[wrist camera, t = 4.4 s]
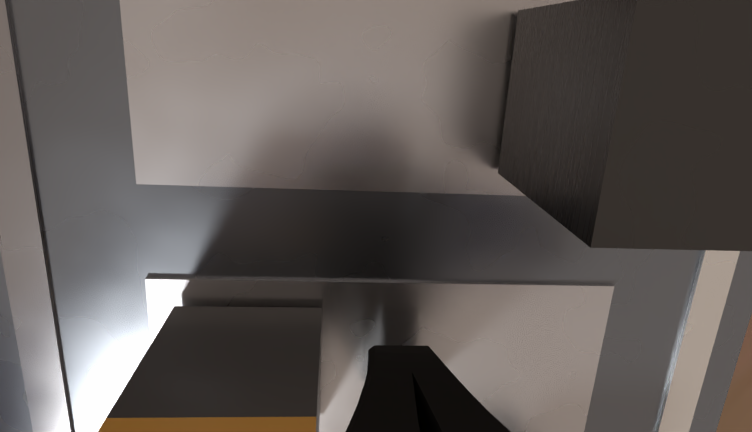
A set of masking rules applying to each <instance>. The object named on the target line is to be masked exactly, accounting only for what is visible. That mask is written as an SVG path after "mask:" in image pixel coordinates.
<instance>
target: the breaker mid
mask: <svg viewBox="0 0 752 432" xmlns="http://www.w3.org/2000/svg"><path fill="white" fill-rule="evenodd" d="M321 327H322V308H302V307H213V306H174V308H173V309H172V311H171V312H170V314H169V316H168V317H167V319H166V321H165V322H164V324H163V326H162V327H161V329H160V330H159V332H158V334H157V335H156V337H155V339H154V340H153V342H152V344H151V345H150V347H149V348H148V350H147V352H146V353H145V355H144V357H143V358H142V360H141V362H140V363H139V365H138V367H137V368H136V370H135V371H134V373H133V375H132V376H131V378H130V380H129V381H128V383H127V385H126V386H125V388H124V389H123V391H122V393H121V394H120V396H119V398H118V399H117V401H116V403H115V404H114V406H113V407H112V409H111V411H110V412H109V414H108V416H107V417H106V419H105V421H104V422H103V424H102V425H101V427H100V429H99V430H98V432H319V418H320V373H321Z"/></svg>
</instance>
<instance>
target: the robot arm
mask: <svg viewBox="0 0 752 432" xmlns="http://www.w3.org/2000/svg"><path fill="white" fill-rule="evenodd" d="M346 432H511V431H510V430H509V429H507V428H506V427H505V426H504V425H503V424H502V423H501V422H500V421H499V420H498V419H496V418H495V417H494V416H493V415H492V414H491V413H490V412H489V411H488V410H487V409H486V408H485V407H484V406H483V405H482V404H481V403H480V402H479V401H478V400H477V399H476V398H475V397H474V396H473V395H472V394H471V393H470V392H469V391H468V390H467V389H466V388H465V386H464V385H463V384H462V383H461V382H460V381H459V380H458V379H457V378H456V377H455V375H454V374H453V373H452V372H451V371H450V370H449V369H448V367H447V366H446V365H445V364H444V363H443V362H442V361H441V359H440V358H439V357H438V356H437V355H436V354H435V353H434V352H433V350H432V349H431V348H430V347H429V346H409V345H374V346H373V347H371V348H370V349H369V350H368V365H367V375H366V379H365V383H364V386H363V389H362V392H361V395H360V398H359V401H358V404H357V407H356V409H355V411H354V414H353V416H352V418H351V420H350V423H349V425H348V427H347V429H346Z"/></svg>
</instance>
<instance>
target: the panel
mask: <svg viewBox="0 0 752 432" xmlns="http://www.w3.org/2000/svg"><path fill="white" fill-rule="evenodd" d="M174 306H213V307H302V308H322V327H321V373H320V418H319V432H346V429H347V427H348V425H349V423H350V420H351V418H352V416H353V414H354V411H355V409H356V407H357V404H358V401H359V398H360V395H361V392H362V389H363V386H364V383H365V379H366V375H367V365H368V350H369V349H370V348H371V347H373V346H374V345H409V346H429V347H430V348H431V349H432V350H433V352H434V353H435V354H436V355H437V356H438V357H439V358H440V359H441V361H442V362H443V363H444V364H445V365H446V366H447V367H448V369H449V370H450V371H451V372H452V373H453V374H454V375H455V377H456V378H457V379H458V380H459V381H460V382H461V383H462V384H463V385H464V386H465V388H466V389H467V390H468V391H469V392H470V393H471V394H472V395H473V396H474V397H475V398H476V399H477V400H478V401H479V402H480V403H481V404H482V405H483V406H484V407H485V408H486V409H487V410H488V411H489V412H490V413H491V414H492V415H493V416H494V417H495V418H496V419H498V420H499V421H500V422H501V423H502V424H503V425H504V426H505V427H506V428H507V429H509V430H510V431H511V432H716V429H717V426H718V423H719V420H720V416H721V413H722V410H723V406H724V403H725V400H726V396H727V393H728V390H729V386H730V383H731V380H732V376H733V373H734V370H735V366H736V363H737V360H738V356H739V353H740V350H741V347H742V343H743V340H744V337H745V333H746V330H747V327H748V323H749V320H750V317H751V313H752V0H0V432H98V430H99V429H100V427H101V425H102V424H103V422H104V421H105V419H106V417H107V416H108V414H109V412H110V411H111V409H112V407H113V406H114V404H115V403H116V401H117V399H118V398H119V396H120V394H121V393H122V391H123V389H124V388H125V386H126V385H127V383H128V381H129V380H130V378H131V376H132V375H133V373H134V371H135V370H136V368H137V367H138V365H139V363H140V362H141V360H142V358H143V357H144V355H145V353H146V352H147V350H148V348H149V347H150V345H151V344H152V342H153V340H154V339H155V337H156V335H157V334H158V332H159V330H160V329H161V327H162V326H163V324H164V322H165V321H166V319H167V317H168V316H169V314H170V312H171V311H172V309H173V308H174Z"/></svg>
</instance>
